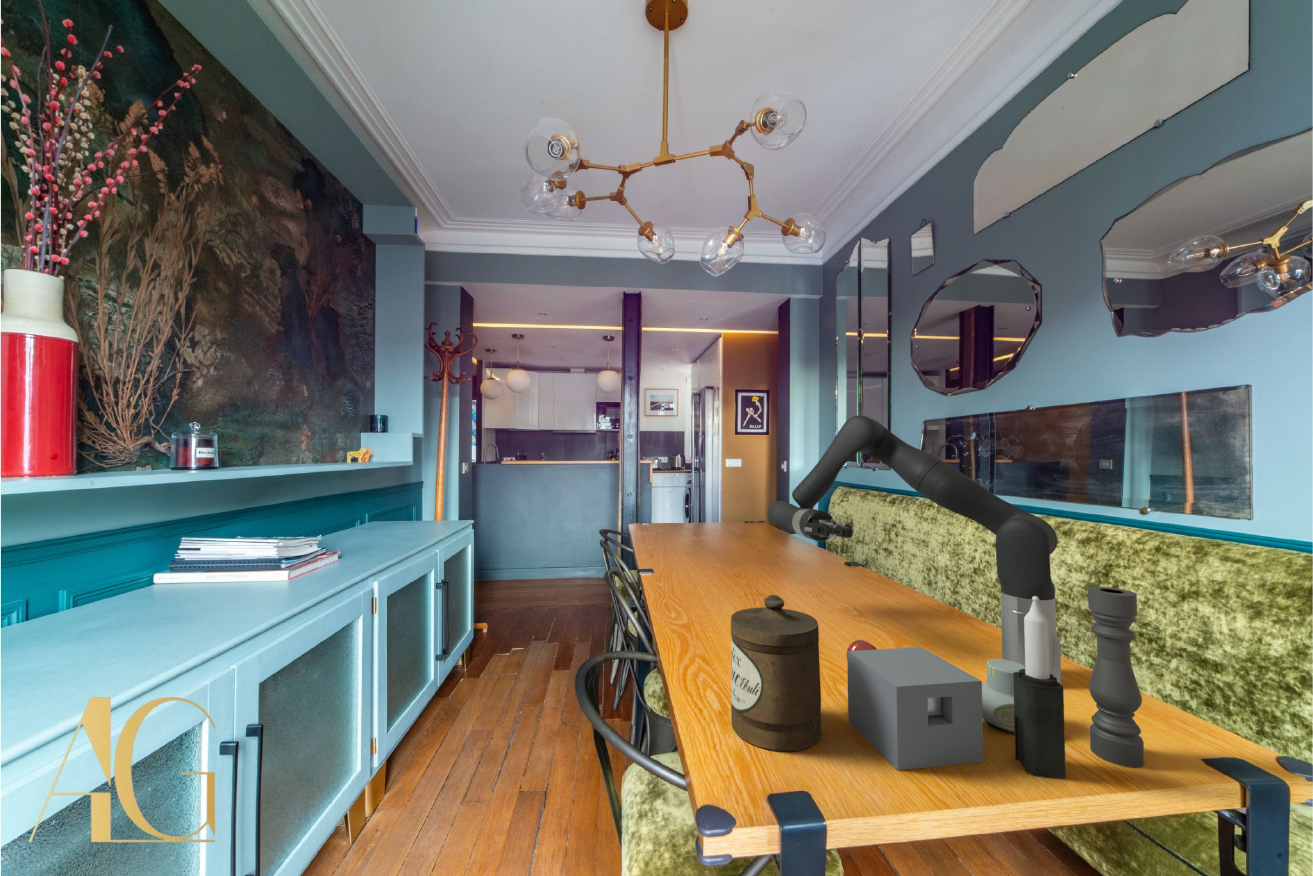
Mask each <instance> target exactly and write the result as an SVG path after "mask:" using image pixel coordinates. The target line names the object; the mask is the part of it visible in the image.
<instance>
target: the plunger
mask: <svg viewBox="0 0 1313 876" xmlns="http://www.w3.org/2000/svg"><path fill="white" fill-rule="evenodd" d="M859 650H877V647H875V646H874V645H873V644H871V643H870V642H868V641H867V640H864V639H857V640H854V641H853V642H851V643H850V645H849V646H848V647H847V650H846V655H845V657H846V658H847V651H859ZM936 715H941V697H939V698H928V716H936Z"/></svg>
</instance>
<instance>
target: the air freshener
mask: <svg viewBox="0 0 1313 876" xmlns="http://www.w3.org/2000/svg"><path fill="white" fill-rule="evenodd" d="M1021 669H1025V667H1024V666H1023V665H1021V664H1019V663H1016V662H1013V661H1010V660H1004V659H1002V658H991V659H989V660H987V662H986V682H984V683H983V682H982V716H983V720H984V721H986V722H987V723H989V724H991V725H993V726H994V727H996V728H999V729H1001V730H1004V731H1007V732H1009V733H1014V734H1015V729H1014V684H1013V673H1014V672H1019V670H1021Z"/></svg>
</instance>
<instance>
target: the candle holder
mask: <svg viewBox="0 0 1313 876" xmlns="http://www.w3.org/2000/svg"><path fill="white" fill-rule="evenodd" d="M1137 597H1138V595H1137V593H1136V592H1133V591H1131V590H1127V589H1122V588H1116V587H1109V586H1089V587H1087V598H1088V599H1087V600H1088V602H1087V606H1088V609H1089V610H1090V614H1091V616H1092V617H1093V619H1094V621H1095V622H1096V624H1094V625H1092V626H1090V629H1091V632H1092V634H1094V635H1095V637H1096V651H1097V652H1096V653H1097V655H1096V659H1095V662H1094V664H1093V665H1094V666H1093V669H1092V673H1091V676H1090V681H1089V683H1088V690H1089V693H1090V696H1091V698H1092V699H1093V702H1095V704H1096V705H1095V706H1096V708H1097V711H1096V712H1095V713H1094V714H1092V715H1091V717H1090V718H1091V721H1092V724H1090V725H1089V745H1090V746H1089V747H1090V751H1091V752H1092V754H1094V755H1095V756H1096V757H1098V758H1100V759H1102V760H1104V761H1106V762H1108V763H1112V764H1115V765H1117V766H1121V767H1126V768H1141V767H1143V766H1144V765H1145V752H1144V751H1145V748H1144V747H1145V746H1144V745H1145V744H1144V743H1145V742H1144V739H1143V738H1142V736H1140V735H1141V733H1142V731H1141V730H1142V729H1141V728H1140V727H1139V725H1138V723H1137V722H1136V721H1135V719H1134V717H1135V716H1136V714H1135V712H1137V711H1138V710H1139V709H1140V707H1141V705H1142V703H1143V698H1142V694H1141V692H1140V687H1139V686H1138V685H1139V684H1138V681H1137V678H1136V675H1135V672H1134V669H1133V666H1132V662H1131V643H1132V641H1134V640H1135V639H1136V637H1137V635H1136V633H1135V632H1134V631H1133V630H1132V629H1130V627H1132V624H1133V623H1134V622H1135V621H1136V617H1137V616H1138V599H1137Z"/></svg>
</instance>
